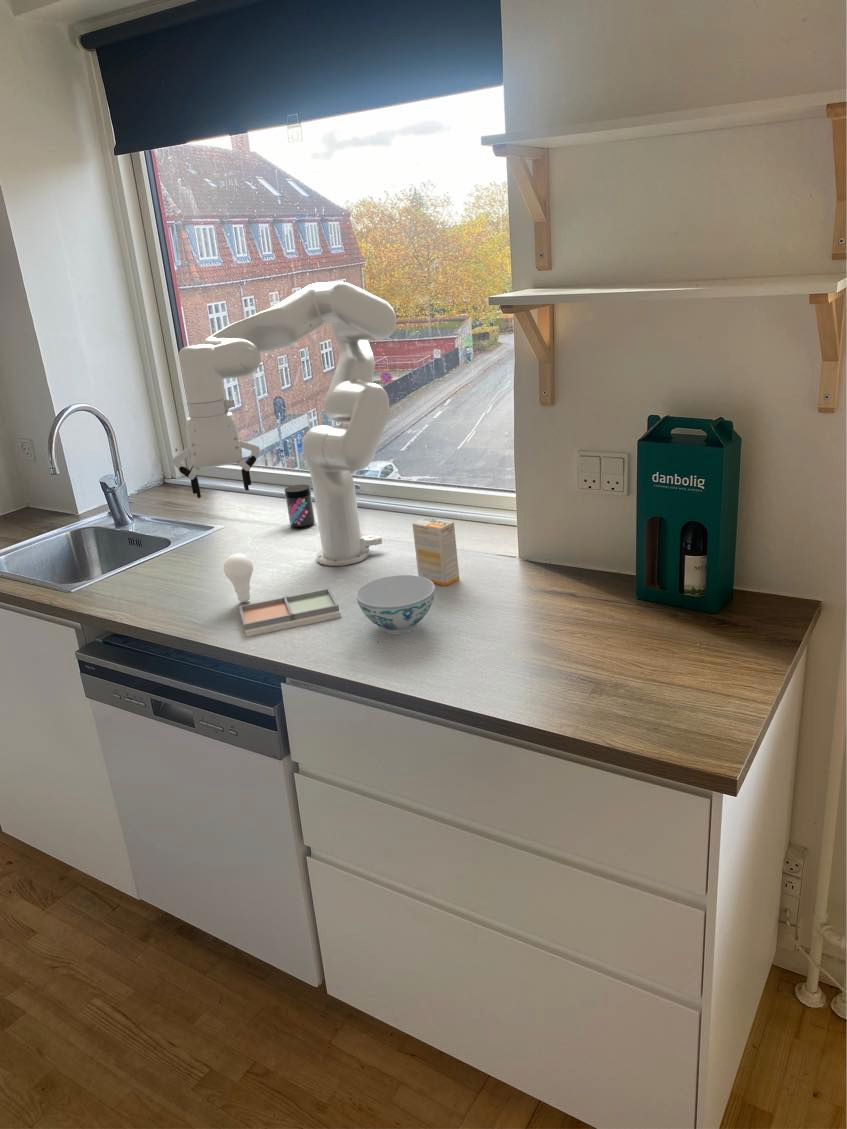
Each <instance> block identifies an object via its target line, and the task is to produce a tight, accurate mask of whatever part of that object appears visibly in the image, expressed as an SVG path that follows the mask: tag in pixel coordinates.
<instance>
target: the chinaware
mask: <svg viewBox="0 0 847 1129" xmlns="http://www.w3.org/2000/svg"><path fill="white" fill-rule="evenodd" d="M435 589H436V587H435V583H433V582H432V581H430V580H429V579H427V578H424V577H420V576H418V575H413V574H411V575H410V574H399V575H397V574H395V575H390V576H389V575H388V576H384V577H379V578H376V579H373V580H371V581H368V582H366V583H364V584H363V585H362V586H361V585H360V587H358V589H357V590H356V592H355V598H356V600H357V604H358V606H359V608H360V610H361V612H362V613H363V614H364V616H365V617H366V619H368V620H369V621H370V622H371V623H373V624H374V625H375V626H377V627H379V628H381V630H382V631H383V632H384V633H387V634H388V635H390V634H391V635H403V634H407V633H409V632H412V631H414V630H415V629H416V628H417V625H418V623H420V621H422V620H423V619H424V618H425V616H427V613H428V612H429V611H430V609H431V607H432V603H433V601H434V596H435Z"/></svg>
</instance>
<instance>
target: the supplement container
mask: <svg viewBox="0 0 847 1129" xmlns="http://www.w3.org/2000/svg"><path fill="white" fill-rule="evenodd" d="M284 496H285V501H286V507H287V512H288V520H289V525H290V528H292V529H295V530H301V529H302V530H303V529H308V528H311V527H313V526H314V525H315V524H316V523H315V522H316V520H315V512H314V506H313V500H312V491H311V485H308V484H295V485H290V486H287V487H285V488H284Z"/></svg>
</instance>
